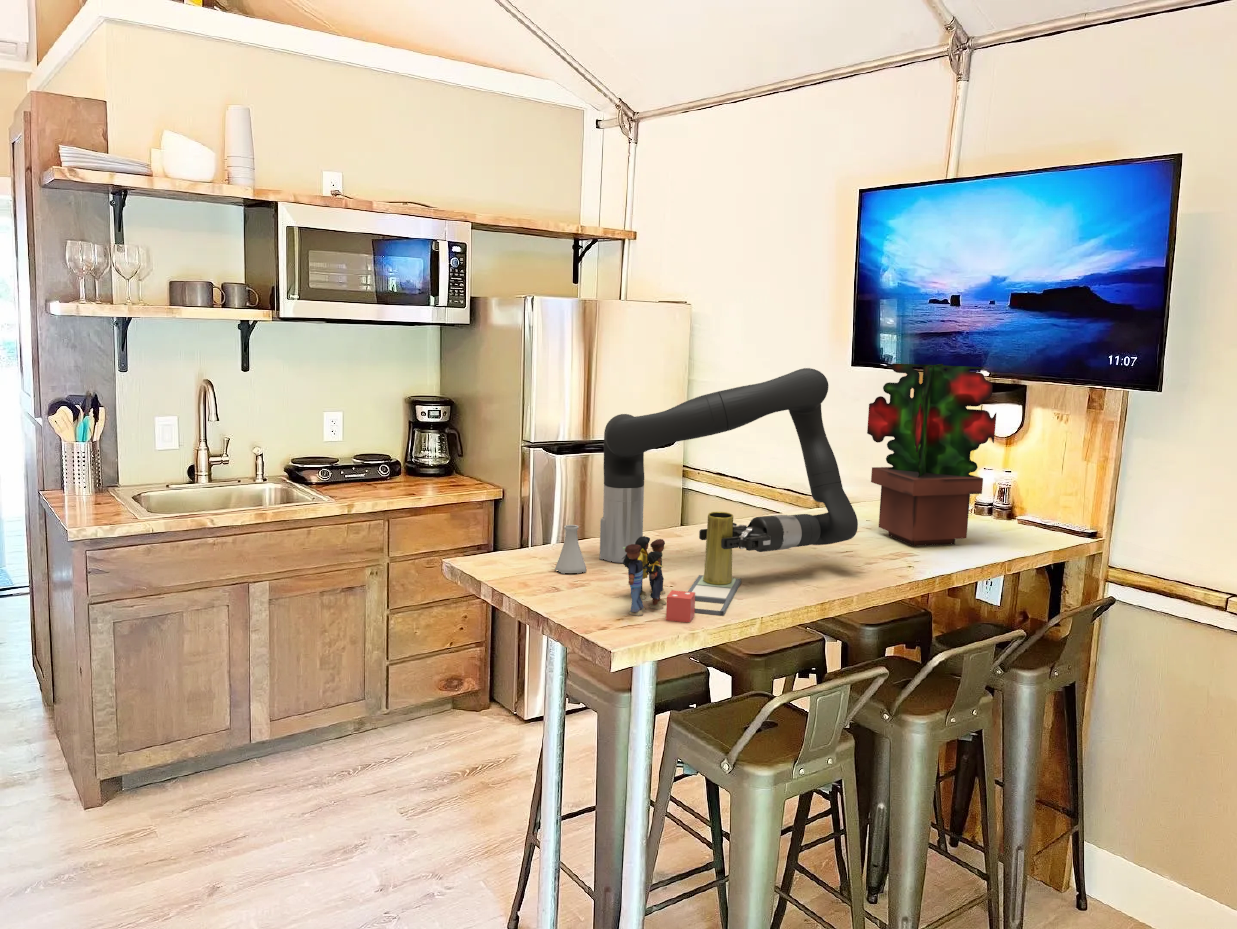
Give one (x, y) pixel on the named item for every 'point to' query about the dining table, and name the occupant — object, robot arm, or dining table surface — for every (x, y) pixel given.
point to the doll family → (645, 573)
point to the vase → (718, 549)
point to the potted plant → (930, 451)
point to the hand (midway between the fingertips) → (711, 539)
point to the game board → (714, 594)
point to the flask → (571, 553)
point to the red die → (680, 606)
